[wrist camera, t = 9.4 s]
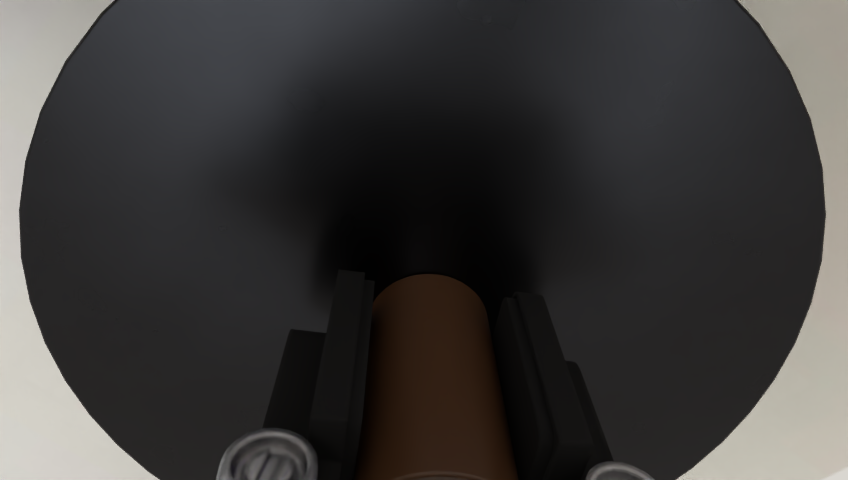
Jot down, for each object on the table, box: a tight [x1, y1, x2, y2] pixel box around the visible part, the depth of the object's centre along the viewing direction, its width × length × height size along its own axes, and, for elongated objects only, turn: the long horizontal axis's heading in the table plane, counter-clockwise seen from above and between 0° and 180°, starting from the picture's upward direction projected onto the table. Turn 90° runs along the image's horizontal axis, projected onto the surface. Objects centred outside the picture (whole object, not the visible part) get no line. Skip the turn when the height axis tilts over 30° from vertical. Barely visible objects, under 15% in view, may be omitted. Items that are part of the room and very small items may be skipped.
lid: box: [19, 0, 826, 480], centre depth 11 cm, size 17×17×6 cm
